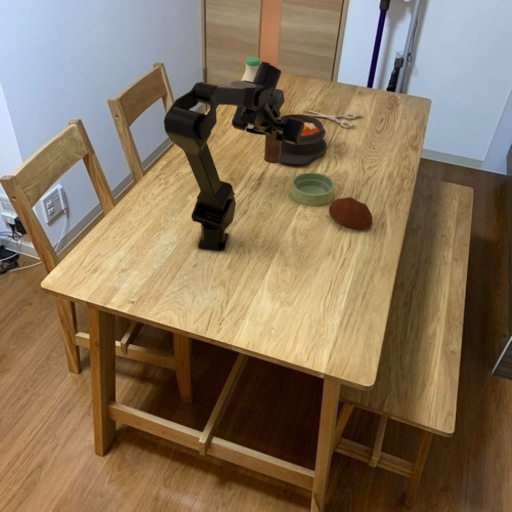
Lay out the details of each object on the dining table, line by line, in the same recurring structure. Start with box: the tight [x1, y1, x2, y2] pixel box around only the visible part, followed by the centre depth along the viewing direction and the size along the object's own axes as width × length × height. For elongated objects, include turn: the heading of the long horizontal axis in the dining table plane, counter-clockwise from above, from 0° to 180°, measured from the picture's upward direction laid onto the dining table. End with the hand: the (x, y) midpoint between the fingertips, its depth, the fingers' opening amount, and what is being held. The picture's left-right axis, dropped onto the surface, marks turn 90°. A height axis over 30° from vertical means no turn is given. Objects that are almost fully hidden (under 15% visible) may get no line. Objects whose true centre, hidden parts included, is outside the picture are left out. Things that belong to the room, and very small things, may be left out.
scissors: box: [304, 109, 362, 129], centre depth 183 cm, size 11×1×20 cm
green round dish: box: [290, 171, 335, 207], centre depth 145 cm, size 12×12×4 cm
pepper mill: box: [263, 114, 282, 164], centre depth 144 cm, size 5×5×13 cm
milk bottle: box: [241, 56, 261, 82], centre depth 176 cm, size 8×8×20 cm
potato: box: [328, 196, 374, 230], centre depth 134 cm, size 8×12×8 cm, turn 74°
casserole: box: [280, 113, 327, 165], centre depth 163 cm, size 25×19×8 cm
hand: (275, 135), depth 144 cm, fingers closed on pepper mill, 4 cm apart
